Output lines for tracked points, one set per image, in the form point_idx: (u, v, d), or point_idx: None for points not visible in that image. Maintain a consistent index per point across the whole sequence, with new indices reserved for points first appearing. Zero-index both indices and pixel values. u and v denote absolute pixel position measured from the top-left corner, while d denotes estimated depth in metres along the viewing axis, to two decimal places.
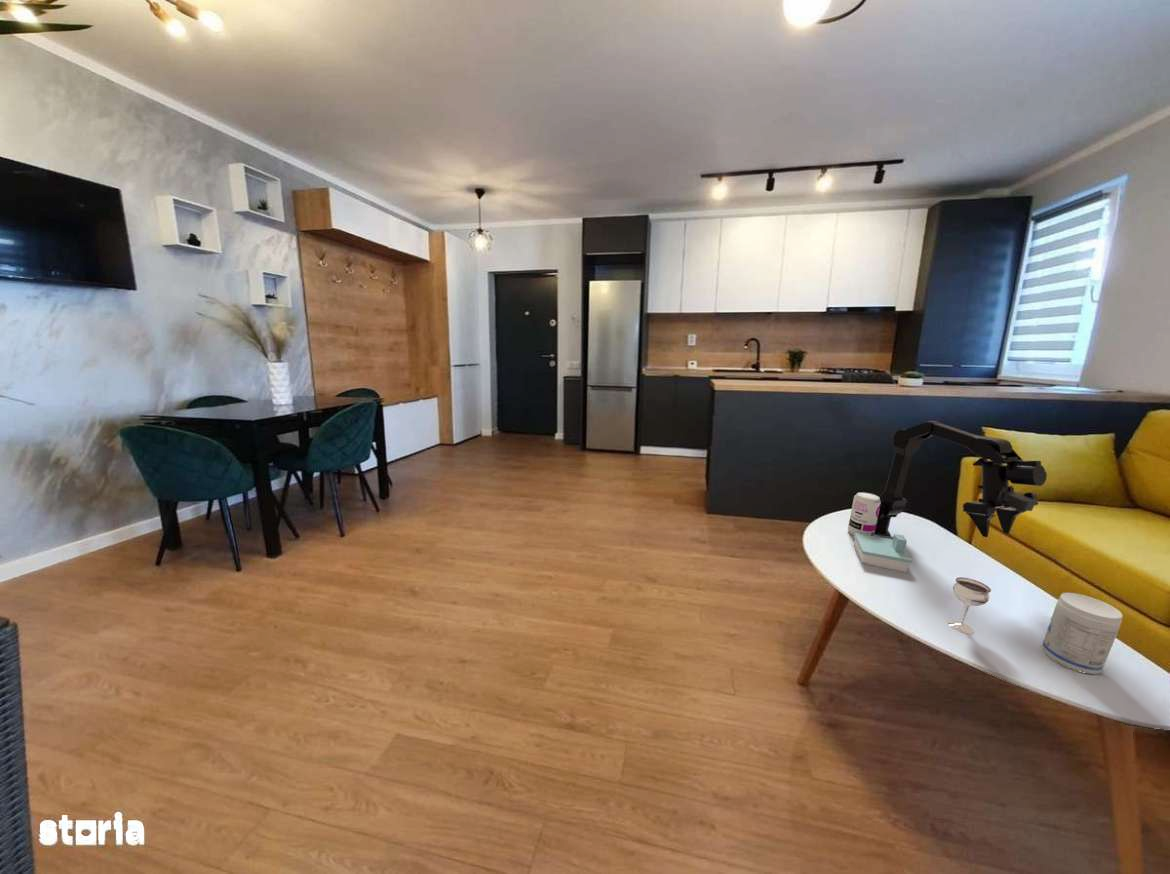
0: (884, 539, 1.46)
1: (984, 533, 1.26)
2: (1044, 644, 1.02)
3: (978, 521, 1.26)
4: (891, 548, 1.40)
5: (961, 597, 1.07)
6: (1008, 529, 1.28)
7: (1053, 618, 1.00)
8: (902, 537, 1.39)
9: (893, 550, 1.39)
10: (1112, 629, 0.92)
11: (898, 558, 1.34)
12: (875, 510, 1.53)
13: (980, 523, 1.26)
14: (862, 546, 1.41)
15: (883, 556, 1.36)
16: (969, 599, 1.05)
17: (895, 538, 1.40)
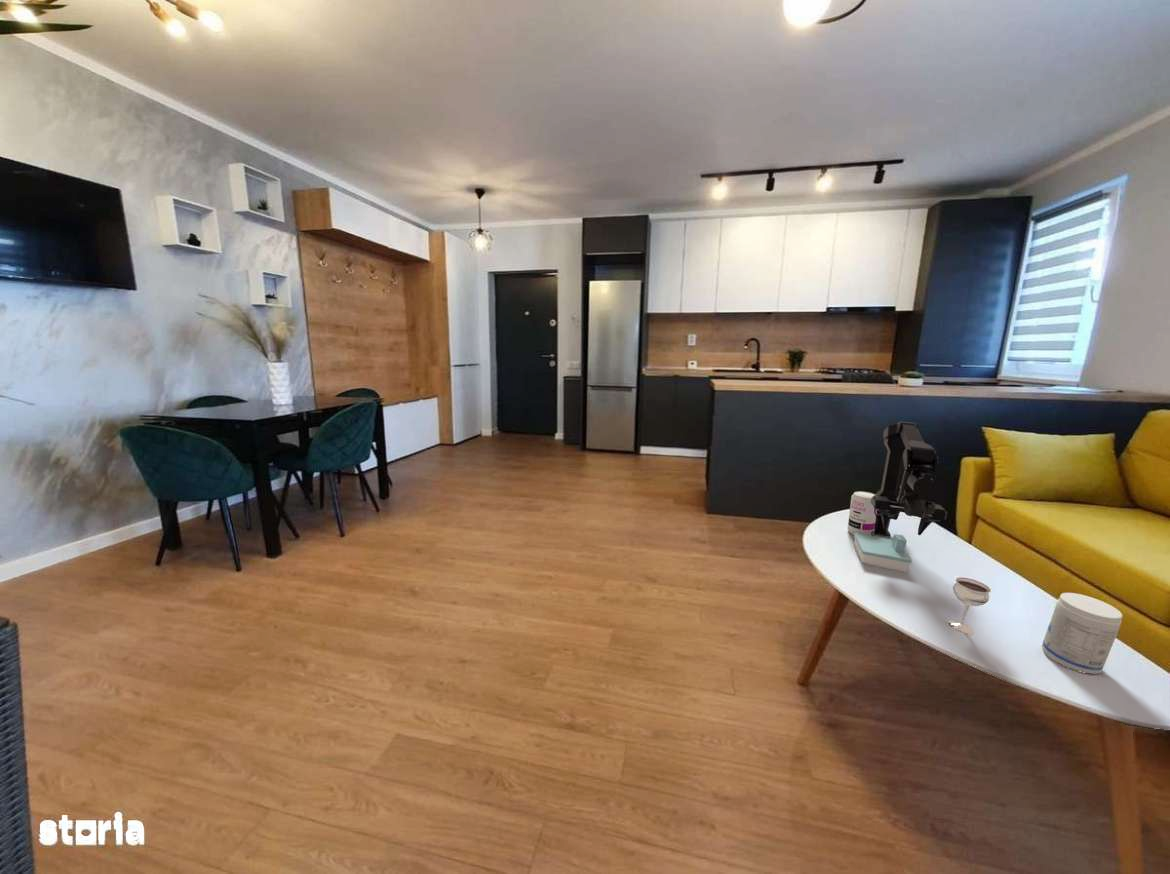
0: (884, 539, 1.46)
1: (883, 525, 1.40)
2: (1044, 644, 1.02)
3: (882, 514, 1.40)
4: (891, 548, 1.40)
5: (961, 597, 1.07)
6: (920, 531, 1.36)
7: (1053, 618, 1.00)
8: (902, 537, 1.39)
9: (893, 550, 1.39)
10: (1112, 629, 0.92)
11: (898, 558, 1.34)
12: (873, 508, 1.53)
13: (882, 516, 1.40)
14: (862, 546, 1.41)
15: (883, 556, 1.36)
16: (969, 599, 1.05)
17: (895, 538, 1.40)
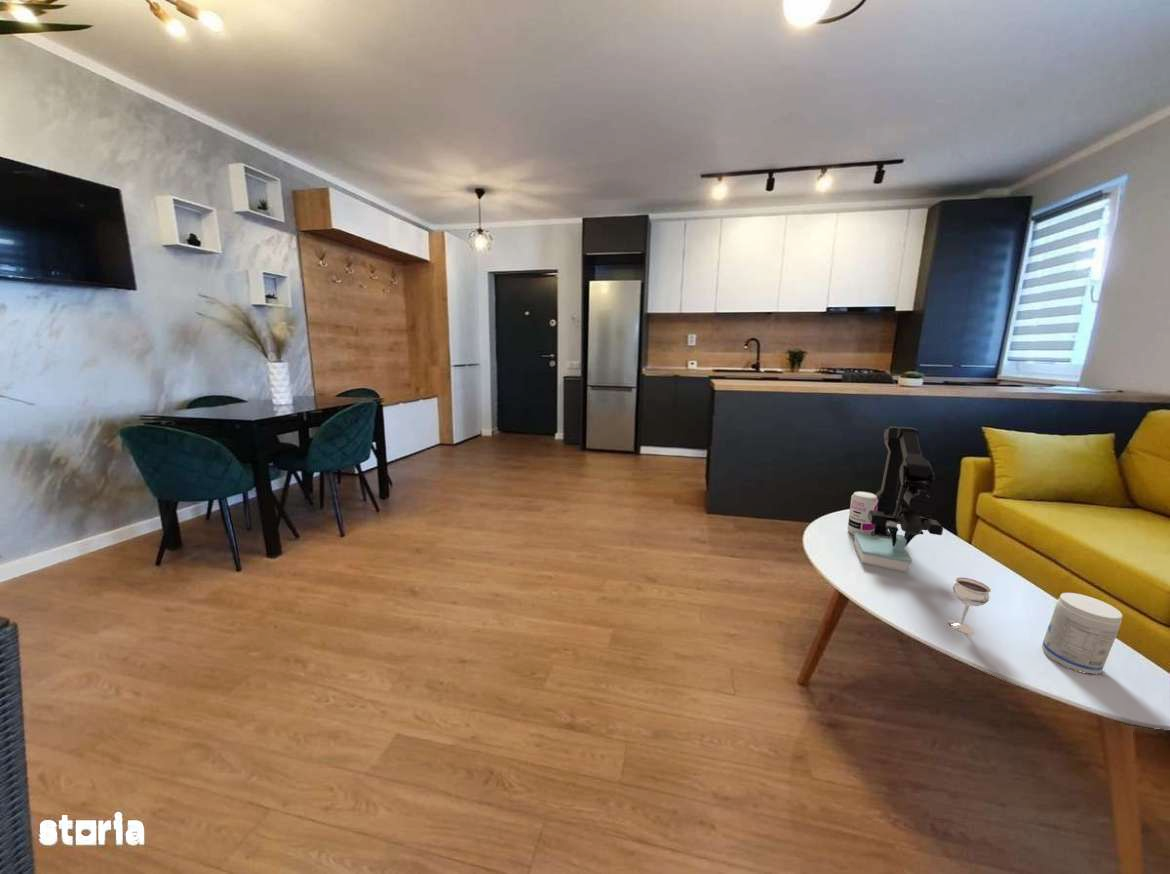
0: (884, 539, 1.46)
1: (892, 542, 1.40)
2: (1044, 644, 1.02)
3: (890, 531, 1.40)
4: (891, 548, 1.40)
5: (961, 597, 1.07)
6: None
7: (1053, 618, 1.00)
8: (902, 537, 1.39)
9: (893, 550, 1.39)
10: (1112, 629, 0.92)
11: (898, 558, 1.34)
12: (873, 508, 1.53)
13: (890, 533, 1.40)
14: (862, 546, 1.41)
15: (883, 556, 1.36)
16: (970, 599, 1.05)
17: None
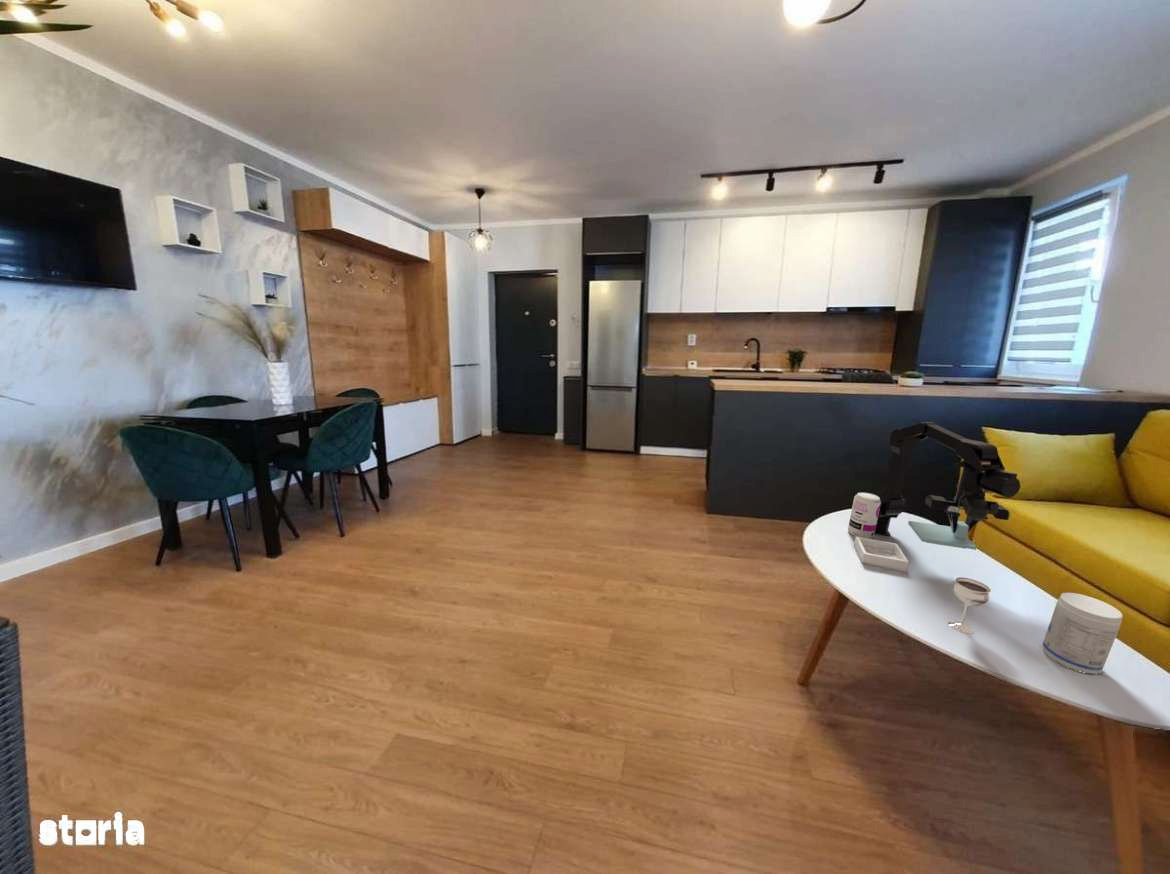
0: (942, 526, 1.39)
1: (952, 528, 1.33)
2: (1044, 644, 1.02)
3: (950, 517, 1.33)
4: (951, 535, 1.33)
5: (961, 597, 1.07)
6: None
7: (1053, 618, 1.00)
8: (963, 523, 1.32)
9: (954, 537, 1.32)
10: (1112, 629, 0.92)
11: (961, 545, 1.27)
12: (875, 510, 1.53)
13: (950, 519, 1.33)
14: (920, 533, 1.34)
15: (945, 543, 1.29)
16: (970, 599, 1.05)
17: None
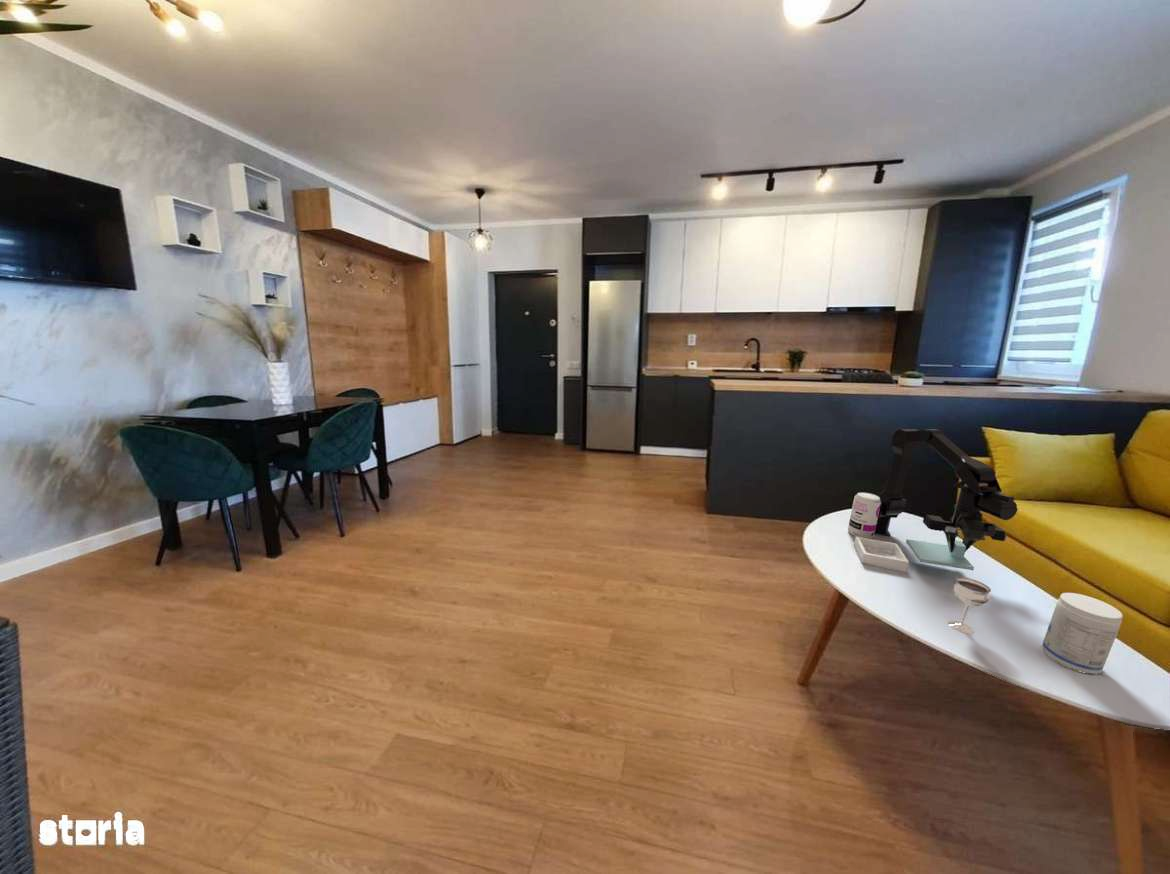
0: (939, 545, 1.41)
1: (949, 548, 1.35)
2: (1044, 644, 1.02)
3: (948, 536, 1.35)
4: (949, 555, 1.34)
5: (961, 597, 1.07)
6: None
7: (1053, 618, 1.00)
8: (960, 543, 1.33)
9: (951, 557, 1.33)
10: (1112, 629, 0.92)
11: (959, 565, 1.29)
12: (875, 510, 1.53)
13: (948, 538, 1.35)
14: (918, 553, 1.35)
15: (942, 564, 1.30)
16: (969, 599, 1.05)
17: None
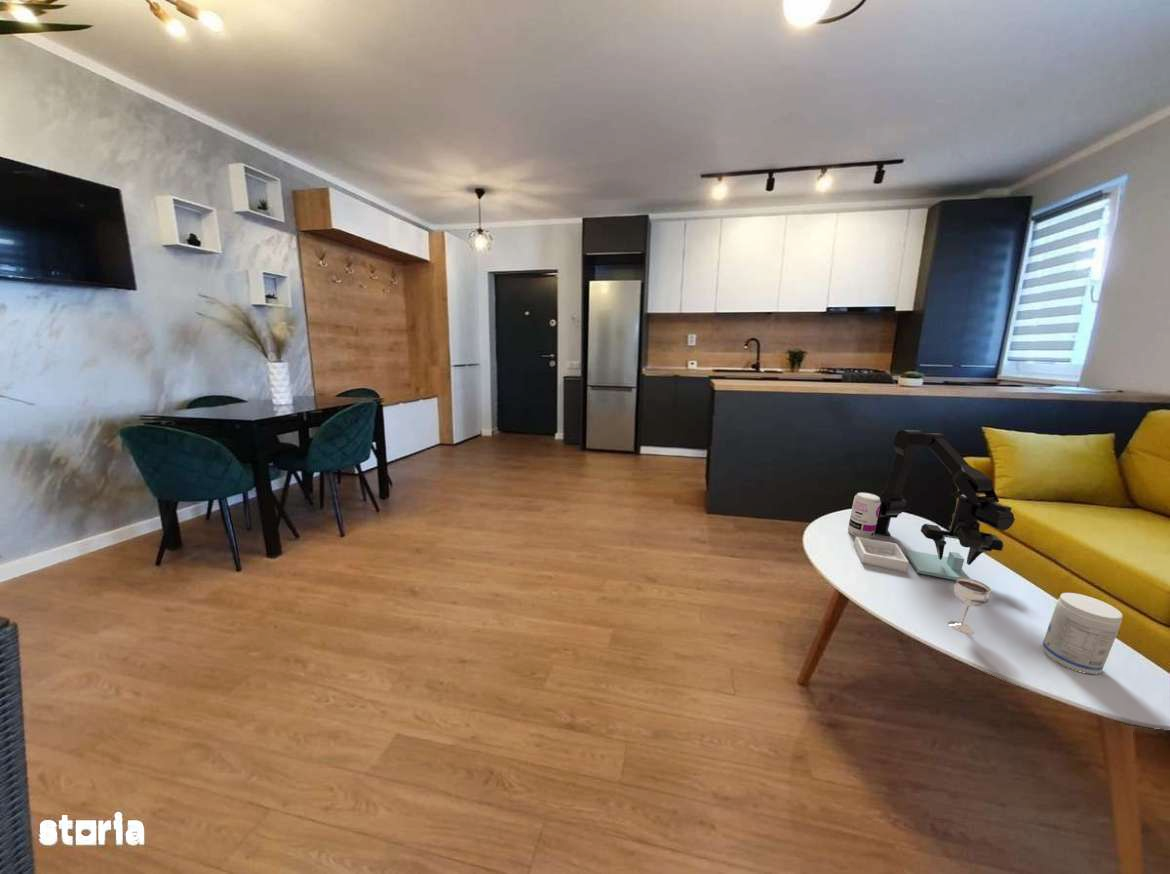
0: (937, 556, 1.41)
1: (938, 555, 1.36)
2: (1044, 644, 1.02)
3: (937, 544, 1.36)
4: (947, 566, 1.35)
5: (961, 597, 1.07)
6: (969, 561, 1.33)
7: (1053, 618, 1.00)
8: (959, 555, 1.34)
9: (949, 569, 1.34)
10: (1112, 629, 0.92)
11: (956, 577, 1.30)
12: (875, 510, 1.53)
13: (937, 546, 1.36)
14: (917, 564, 1.36)
15: (940, 575, 1.31)
16: (969, 599, 1.05)
17: (951, 556, 1.35)
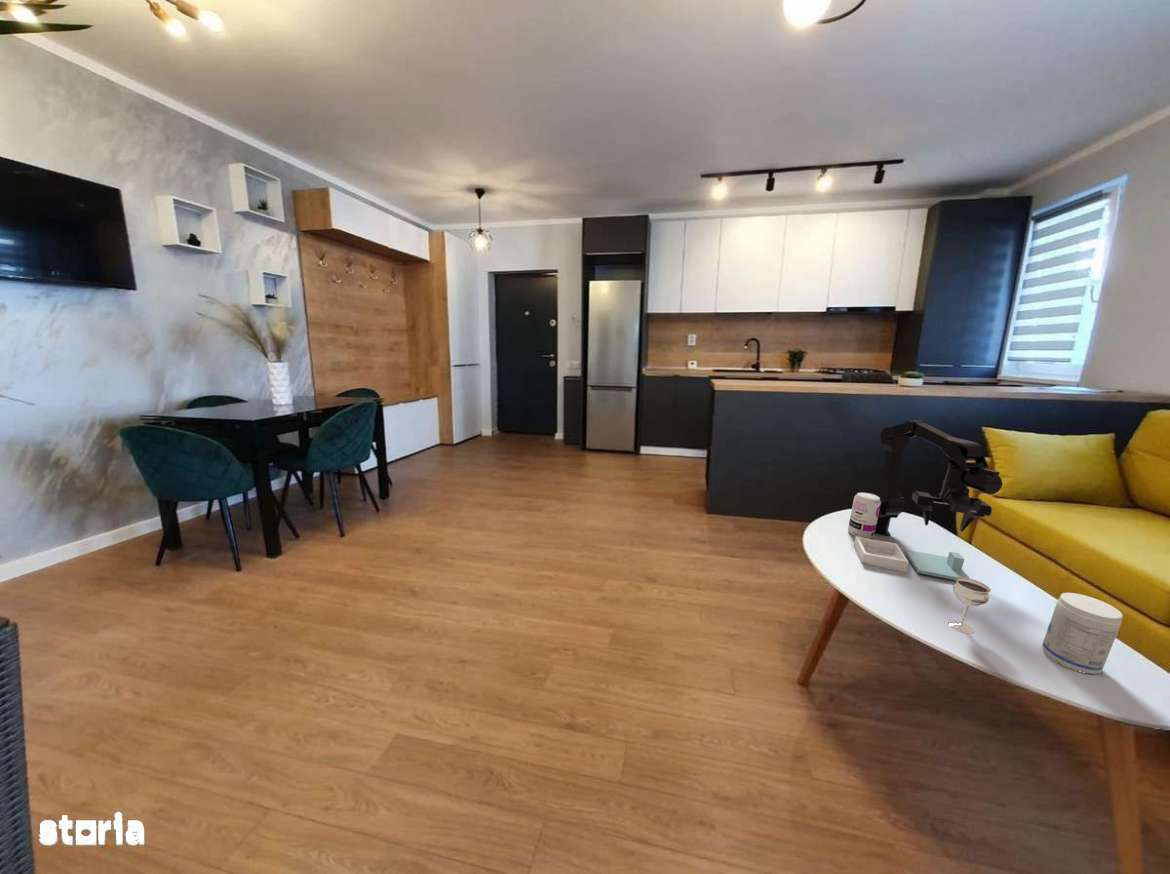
0: (937, 556, 1.41)
1: (925, 521, 1.39)
2: (1044, 644, 1.02)
3: (923, 510, 1.39)
4: (947, 566, 1.35)
5: (961, 597, 1.07)
6: (962, 527, 1.35)
7: (1053, 618, 1.00)
8: (959, 555, 1.34)
9: (949, 569, 1.34)
10: (1112, 629, 0.92)
11: (956, 577, 1.30)
12: (875, 510, 1.53)
13: (924, 512, 1.39)
14: (917, 564, 1.36)
15: (940, 575, 1.31)
16: (969, 599, 1.05)
17: (951, 556, 1.35)
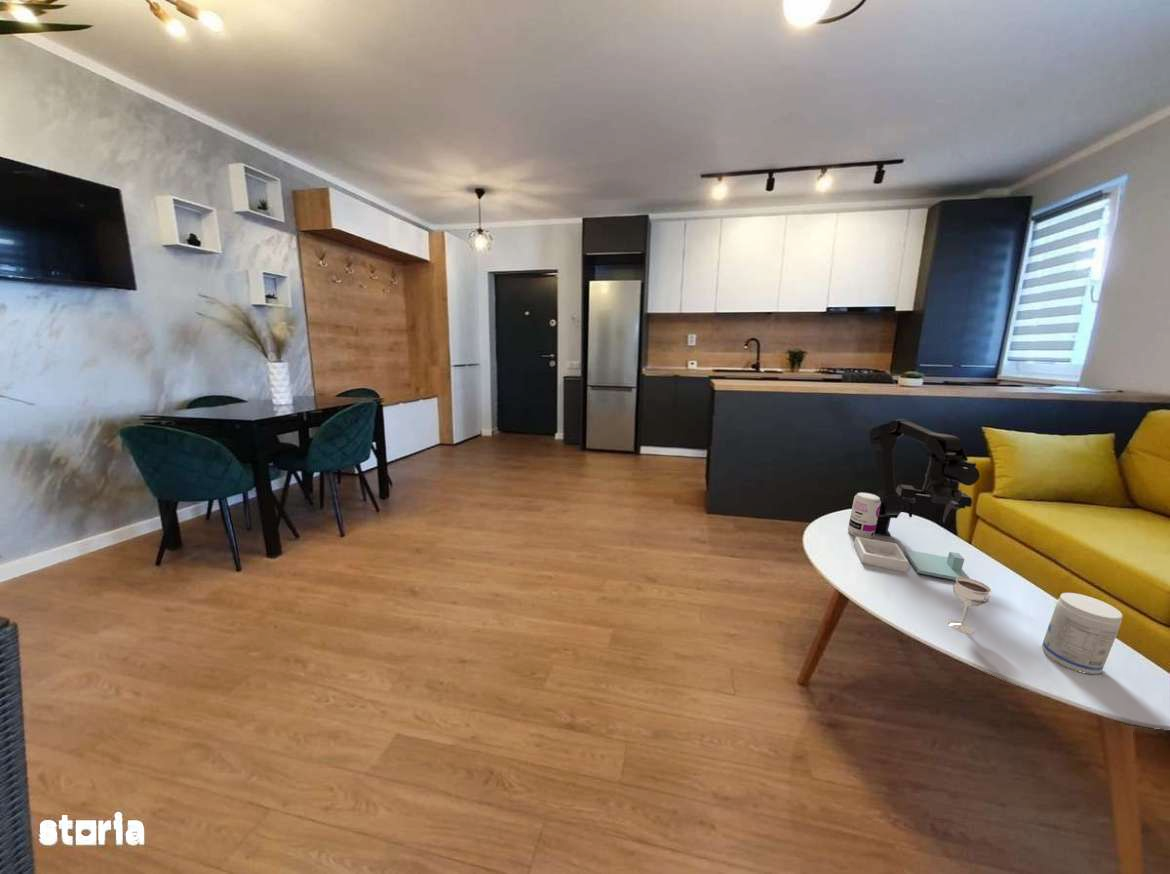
0: (937, 556, 1.41)
1: (909, 513, 1.44)
2: (1044, 644, 1.02)
3: (907, 503, 1.44)
4: (947, 566, 1.35)
5: (961, 597, 1.07)
6: (945, 519, 1.40)
7: (1053, 618, 1.00)
8: (959, 555, 1.34)
9: (949, 569, 1.34)
10: (1112, 629, 0.92)
11: (956, 577, 1.30)
12: (875, 510, 1.53)
13: (908, 505, 1.44)
14: (917, 564, 1.36)
15: (940, 575, 1.31)
16: (969, 599, 1.05)
17: (951, 556, 1.35)
